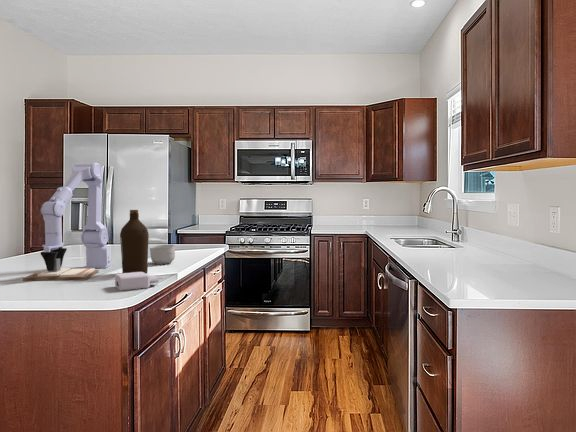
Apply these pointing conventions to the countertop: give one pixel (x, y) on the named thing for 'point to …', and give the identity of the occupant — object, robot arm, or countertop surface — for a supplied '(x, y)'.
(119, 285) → the charger
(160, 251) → the teacup
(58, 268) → the stub
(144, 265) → the olive oil
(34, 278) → the board
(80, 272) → the ticket
